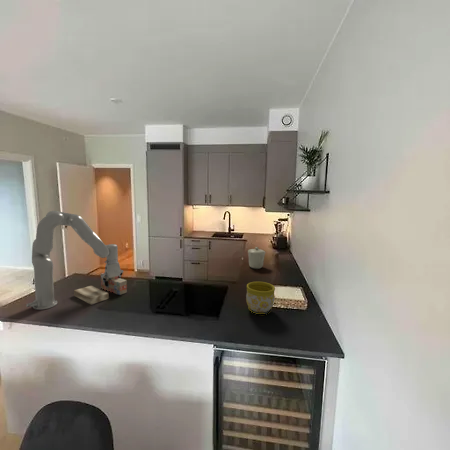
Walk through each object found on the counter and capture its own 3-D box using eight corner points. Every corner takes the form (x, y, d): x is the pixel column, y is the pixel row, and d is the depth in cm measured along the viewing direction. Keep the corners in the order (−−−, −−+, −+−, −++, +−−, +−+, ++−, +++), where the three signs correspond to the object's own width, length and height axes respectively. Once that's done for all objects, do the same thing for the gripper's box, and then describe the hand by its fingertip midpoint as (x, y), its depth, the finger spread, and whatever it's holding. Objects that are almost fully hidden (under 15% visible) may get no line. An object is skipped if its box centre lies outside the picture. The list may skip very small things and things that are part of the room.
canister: (257, 271, 249) (259, 249, 246) (243, 267, 261) (244, 246, 258) (268, 267, 262) (269, 247, 259) (253, 263, 274) (254, 244, 271)
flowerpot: (253, 319, 154) (255, 293, 152) (240, 306, 170) (241, 282, 168) (279, 315, 161) (280, 289, 158) (264, 303, 177) (265, 280, 175)
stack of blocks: (127, 292, 187) (127, 276, 185) (119, 295, 181) (119, 278, 180) (108, 286, 197) (107, 270, 196) (100, 288, 192) (100, 272, 190)
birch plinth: (91, 304, 165) (91, 298, 165) (74, 295, 177) (73, 290, 177) (108, 298, 175) (108, 293, 174) (91, 290, 187) (91, 285, 187)
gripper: (103, 264, 177) (104, 288, 180) (125, 259, 191) (126, 282, 194) (97, 262, 181) (98, 286, 184) (119, 258, 196) (120, 279, 198)
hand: (112, 284), depth 189 cm, fingers open, 9 cm apart
